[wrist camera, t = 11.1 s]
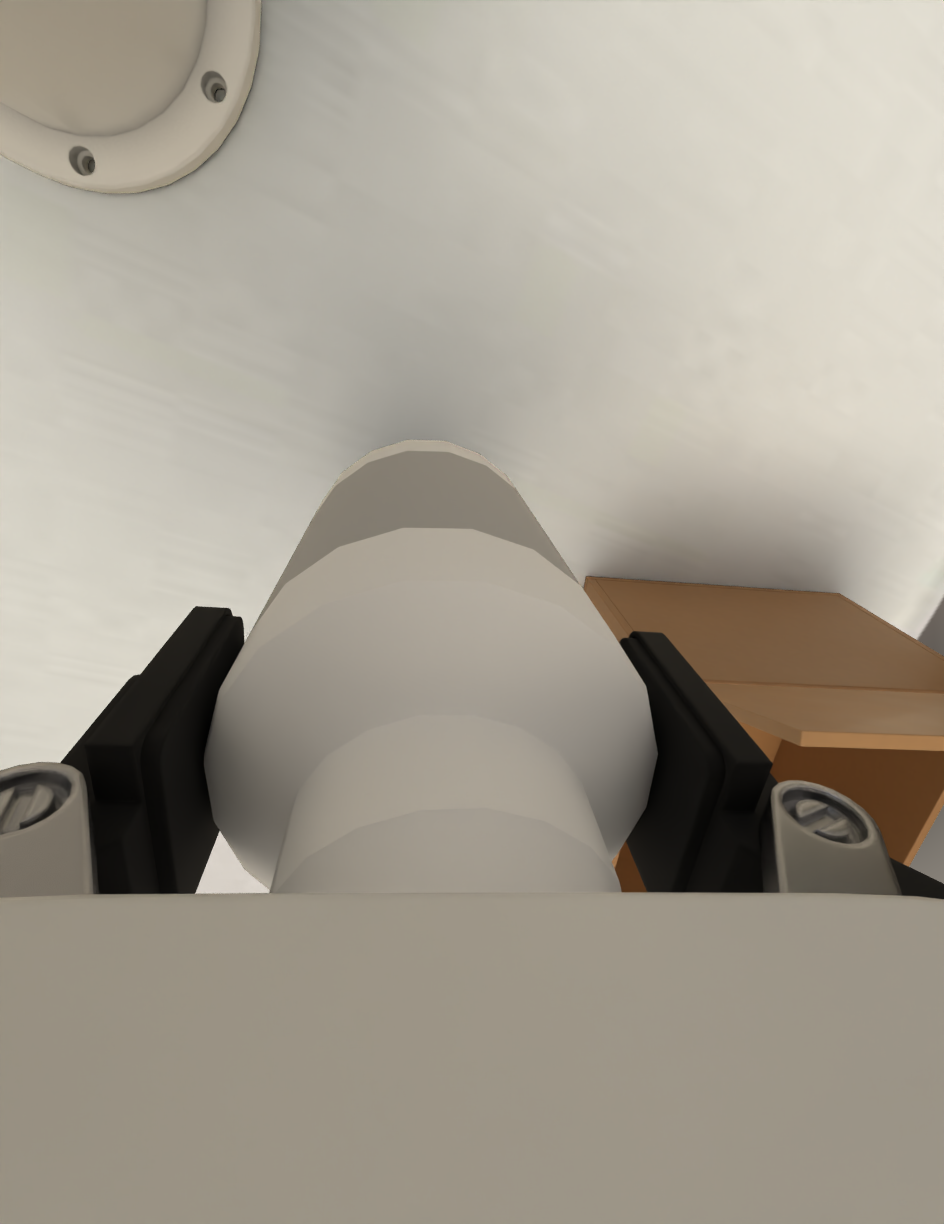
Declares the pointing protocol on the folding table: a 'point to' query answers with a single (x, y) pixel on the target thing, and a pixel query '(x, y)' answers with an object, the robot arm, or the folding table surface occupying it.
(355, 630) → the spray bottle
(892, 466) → the folding table surface
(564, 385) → the folding table surface
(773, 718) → the flap
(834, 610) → the carton
